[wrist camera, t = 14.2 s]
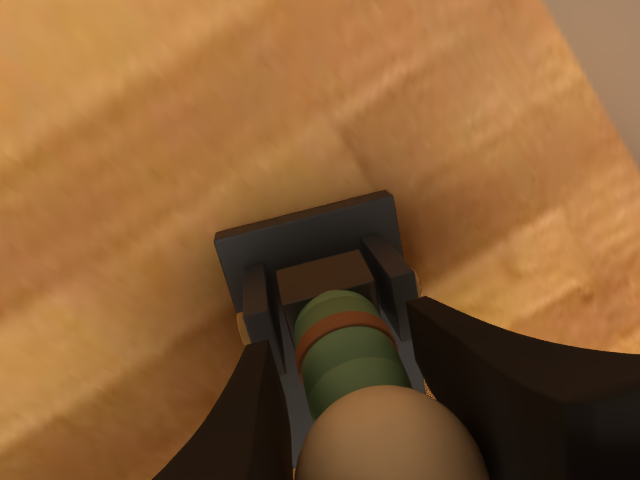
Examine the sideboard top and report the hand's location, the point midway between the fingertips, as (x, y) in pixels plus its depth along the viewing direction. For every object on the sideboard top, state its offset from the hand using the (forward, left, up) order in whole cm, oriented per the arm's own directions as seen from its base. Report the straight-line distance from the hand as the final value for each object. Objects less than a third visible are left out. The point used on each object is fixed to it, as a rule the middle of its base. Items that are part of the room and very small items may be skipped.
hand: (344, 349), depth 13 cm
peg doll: (0, 0, -4) cm, 4 cm away
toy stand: (-3, -1, -6) cm, 7 cm away
